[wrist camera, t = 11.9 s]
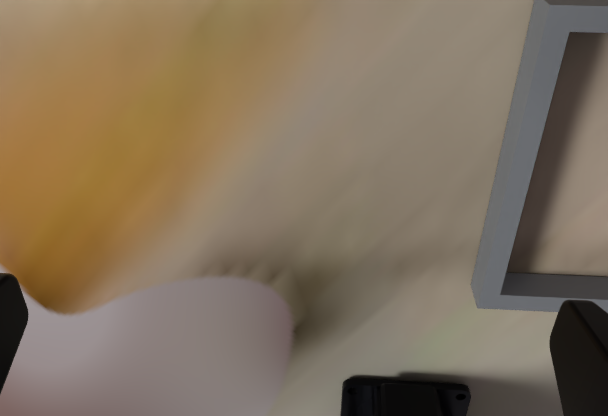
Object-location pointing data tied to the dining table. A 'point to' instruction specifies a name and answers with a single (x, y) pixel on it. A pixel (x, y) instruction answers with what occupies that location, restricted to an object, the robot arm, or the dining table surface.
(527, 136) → the frame
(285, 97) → the dining table surface
